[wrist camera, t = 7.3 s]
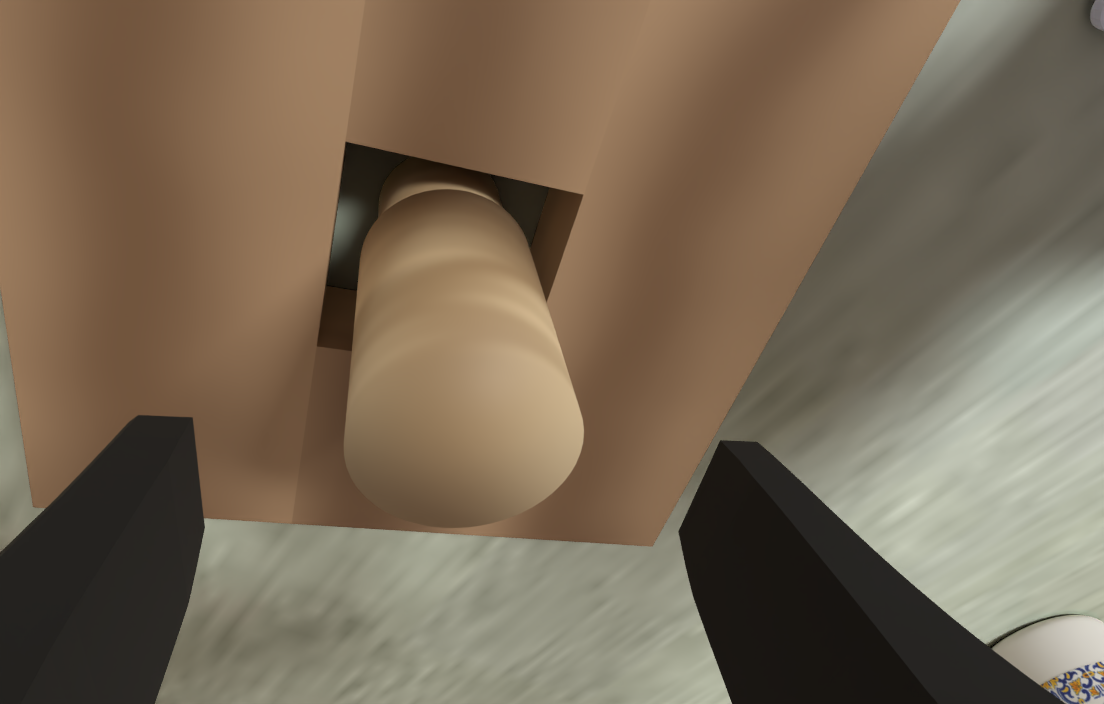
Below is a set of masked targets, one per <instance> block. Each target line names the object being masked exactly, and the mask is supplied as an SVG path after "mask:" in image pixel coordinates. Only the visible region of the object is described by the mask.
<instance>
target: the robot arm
mask: <svg viewBox="0 0 1104 704" xmlns="http://www.w3.org/2000/svg"><path fill="white" fill-rule="evenodd" d="M1090 20H1091V24H1092V25H1093V26H1094V27H1096V28H1097V29H1100V30H1102V31H1104V0H1095V2H1094V4H1093V6H1092V8H1091V14H1090ZM204 529H205V525H204V516H203V507H202V498H201V489H200V479H199V470H198V461H197V452H196V443H195V433H194V424H193V417H174V416H151V415H138V416H136V417H135V418H133V419H132V420H131V421H129V422H128V423H127V424H126V425H125V427H124V428H123V429H122V430H121V431H120V432H119V433H118V434H117V435H116V436H115V437H114V438H113V439H112V441H111V442H110V443H109V444H108V445H107V446H106V447H105V448H104V449H103V450H102V451H101V452H100V453H99V454H98V455H97V457H96V458H95V459H94V460H93V461H92V462H91V463H90V464H89V465H88V466H87V467H86V468H85V469H84V470H83V471H82V472H81V473H80V474H79V475H78V476H77V477H76V478H75V479H74V480H73V481H72V483H71V484H70V485H69V486H68V487H67V488H66V489H65V490H64V491H63V492H62V493H61V494H60V495H59V496H58V497H57V498H56V499H55V500H54V501H53V502H52V503H51V504H50V505H49V506H48V507H47V508H46V509H45V510H44V511H43V512H42V513H41V514H40V515H39V516H37V517H36V518H35V519H34V520H33V521H32V522H31V523H30V524H29V525H28V526H27V527H26V528H25V529H24V530H23V531H22V532H21V533H20V534H19V535H18V536H17V537H16V538H15V539H14V540H13V541H12V542H11V543H10V544H9V545H8V546H7V547H5V548H4V549H3V550H2V551H1V552H0V704H155V701H156V698H157V695H158V692H159V689H160V686H161V683H162V681H163V678H164V675H165V672H166V669H167V666H168V663H169V660H170V657H171V654H172V651H173V648H174V645H175V642H176V639H177V636H178V633H179V631H180V628H181V625H182V622H183V619H184V616H185V612H186V609H187V606H188V603H189V599H190V594H191V590H192V585H193V581H194V576H195V572H196V567H197V562H198V558H199V553H200V548H201V543H202V538H203V533H204ZM679 536H680V541H681V546H682V551H683V555H684V560H685V565H686V569H687V573H688V578H689V582H690V586H691V590H692V594H693V597H694V600H695V603H696V606H697V609H698V612H699V615H700V617H701V620H702V623H703V626H704V628H705V631H706V634H707V637H708V639H709V642H710V645H711V648H712V650H713V653H714V656H715V659H716V661H717V664H718V667H719V669H720V672H721V675H722V677H723V680H724V683H725V685H726V688H727V691H728V694H729V696H730V699H731V702H732V704H1066V703H1064V702H1063V701H1061V700H1060V699H1059V698H1057V697H1056V696H1054V695H1053V694H1052V693H1050V692H1049V691H1047V690H1046V689H1044V688H1043V687H1042V686H1040V685H1039V684H1037V683H1036V682H1035V681H1033V680H1032V679H1031V678H1029V677H1028V676H1027V675H1025V674H1024V673H1023V672H1021V671H1020V670H1019V669H1017V668H1016V667H1015V666H1013V665H1012V664H1011V663H1009V662H1008V661H1007V660H1005V659H1004V658H1003V657H1001V656H1000V655H999V654H997V653H996V652H995V651H993V650H992V649H991V648H990V647H988V646H987V645H986V644H984V643H983V642H982V641H980V640H979V639H978V638H976V637H975V636H974V635H973V634H971V633H970V632H969V631H968V630H966V629H965V628H964V627H963V626H961V625H960V624H959V623H958V622H956V621H955V620H954V619H953V618H952V617H950V616H949V615H948V614H947V613H946V612H944V611H943V610H942V609H941V608H940V607H939V606H937V605H936V604H935V603H934V602H933V601H931V600H930V599H929V598H928V597H927V596H926V595H924V594H923V593H922V592H921V591H920V590H918V589H917V588H916V587H915V586H914V585H913V584H911V583H910V582H909V581H908V580H907V579H906V578H905V577H903V576H902V575H901V574H900V573H899V572H898V571H897V570H896V569H894V568H893V567H892V566H891V565H890V564H889V563H888V562H887V561H885V560H884V559H883V558H882V557H881V556H880V555H879V554H878V553H877V552H876V551H874V550H873V549H872V548H871V547H870V546H869V545H868V544H867V543H866V542H865V541H864V540H862V539H861V538H860V537H859V536H858V535H857V534H856V533H855V532H854V531H853V530H852V529H851V528H850V527H849V526H847V525H846V524H845V523H844V522H843V521H842V520H841V519H840V518H839V517H838V516H837V515H836V514H835V513H834V512H833V511H832V510H830V509H829V508H828V507H827V506H826V505H825V504H824V503H823V502H822V501H821V500H820V499H819V498H818V497H817V496H816V495H815V494H814V493H813V492H811V491H810V490H809V489H808V488H807V487H806V486H805V485H804V484H803V483H802V482H801V481H800V480H799V479H798V478H797V477H796V476H795V475H793V474H792V473H791V472H790V471H789V470H788V469H787V468H786V467H785V466H784V465H783V464H782V463H781V462H779V461H778V460H777V459H776V458H775V457H774V456H773V455H772V454H771V453H769V452H768V451H767V450H766V449H765V448H764V447H762V446H761V445H760V444H759V443H758V442H745V441H722V440H720V442H719V445H718V447H717V449H716V451H715V453H714V455H713V458H712V460H711V462H710V464H709V466H708V469H707V471H706V473H705V475H704V477H703V479H702V482H701V484H700V486H699V488H698V490H697V492H696V495H695V497H694V499H693V501H692V503H691V505H690V508H689V510H688V512H687V514H686V516H685V518H684V521H683V523H682V525H681V527H680V529H679Z"/></svg>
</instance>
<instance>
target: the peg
mask: <svg viewBox="0 0 1104 704" xmlns="http://www.w3.org/2000/svg"><path fill="white" fill-rule="evenodd" d="M583 438H584V426H583V418H582V415H581V412H580V408H579V405H578V402H577V399H576V395H575V392H574V389H573V386H572V383H571V379H570V376H569V373H568V370H567V367H566V363H565V360H564V357H563V354H562V351H561V347H560V344H559V341H558V338H557V335H556V331H555V328H554V325H553V322H552V319H551V316H550V312H549V309H548V306H547V303H546V300H545V296H544V293H543V290H542V287H541V284H540V280H539V277H538V274H537V271H536V268H535V264H534V261H533V258H532V255H531V252H530V248H529V245H528V242H527V239H526V237H525V235H524V233H523V230H522V229H521V227H520V226H519V224H518V223H517V221H516V220H515V219H514V218H513V217H512V216H511V215H510V214H509V213H508V212H507V211H506V210H505V209H504V208H503V207H502V203H501V200H500V196H499V193H498V189H497V187H496V185H495V183H494V181H493V179H492V178H491V176H490V175H489V174H488V173H484V172H480V171H475V170H471V169H466V168H462V167H457V166H453V165H448V164H444V163H440V162H435V161H431V160H426V159H422V158H417V157H413V156H412V157H410V158H408V159H406V160H405V161H403V162H402V163H400V164H399V165H398V166H397V167H396V168H395V169H394V170H393V171H392V172H391V173H390V174H389V176H388V177H387V179H386V181H385V183H384V185H383V187H382V190H381V193H380V198H379V210H378V219H377V220H376V221H375V223H374V224H373V226H372V227H371V228H370V230H369V232H368V234H367V236H366V238H365V240H364V243H363V246H362V250H361V256H360V265H359V277H358V288H357V299H356V310H355V322H354V333H353V344H352V355H351V367H350V378H349V389H348V401H347V412H346V423H345V434H344V458H345V463H346V467H347V470H348V472H349V474H350V477H351V479H352V480H353V482H354V483H355V485H356V487H357V488H358V489H359V490H360V491H361V493H362V494H363V495H364V496H365V497H366V498H367V499H368V500H370V501H371V502H372V503H373V504H374V505H376V506H377V507H379V508H380V509H382V510H383V511H385V512H387V513H389V514H391V515H393V516H395V517H397V518H400V519H403V520H406V521H408V522H412V523H416V524H420V525H425V526H432V527H441V528H466V527H474V526H481V525H486V524H491V523H495V522H498V521H502V520H505V519H508V518H511V517H513V516H516V515H518V514H520V513H522V512H524V511H526V510H528V509H530V508H532V507H534V506H535V505H537V504H538V503H540V502H542V501H543V500H544V499H546V498H547V497H548V496H549V495H551V494H552V493H553V492H554V491H555V490H556V489H557V488H558V487H559V486H560V485H561V484H562V483H563V482H564V481H565V480H566V478H567V477H568V476H569V475H570V473H571V471H572V470H573V468H574V466H575V465H576V463H577V460H578V458H579V456H580V453H581V449H582V445H583Z"/></svg>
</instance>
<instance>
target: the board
mask: <svg viewBox="0 0 1104 704" xmlns="http://www.w3.org/2000/svg"><path fill="white" fill-rule="evenodd" d="M959 2H960V0H0V289H1V296H2V302H3V309H4V316H5V322H6V329H7V336H8V342H9V349H10V356H11V362H12V369H13V376H14V382H15V389H16V396H17V402H18V409H19V416H20V423H21V429H22V436H23V443H24V449H25V456H26V463H27V469H28V476H29V483H30V489H31V496H32V503H33V507H37V508H47V507H48V506H49V505H50V504H51V503H52V502H53V501H54V500H55V499H56V498H57V497H58V496H59V495H60V494H61V493H62V492H63V491H64V490H65V489H66V488H67V487H68V486H69V485H70V484H71V483H72V481H73V480H74V479H75V478H76V477H77V476H78V475H79V474H80V473H81V472H82V471H83V470H84V469H85V468H86V467H87V466H88V465H89V464H90V463H91V462H92V461H93V460H94V459H95V458H96V457H97V455H98V454H99V453H100V452H101V451H102V450H103V449H104V448H105V447H106V446H107V445H108V444H109V443H110V442H111V441H112V439H113V438H114V437H115V436H116V435H117V434H118V433H119V432H120V431H121V430H122V429H123V428H124V427H125V425H126V424H127V423H128V422H129V421H131V420H132V419H133V418H135V417H136V416H138V415H151V416H174V417H193V424H194V433H195V443H196V452H197V461H198V470H199V479H200V489H201V498H202V507H203V516H204V518H211V519H227V520H243V521H258V522H274V523H290V524H306V525H322V526H337V527H353V528H369V529H385V530H401V531H416V532H432V533H448V534H464V535H480V536H495V537H511V538H527V539H543V540H558V541H574V542H590V543H606V544H622V545H637V546H653V544H654V543H655V541H656V539H657V537H658V535H659V534H660V532H661V530H662V528H663V527H664V525H665V523H666V521H667V519H668V518H669V516H670V514H671V512H672V511H673V509H674V507H675V505H676V504H677V502H678V500H679V498H680V496H681V495H682V493H683V491H684V489H685V488H686V486H687V484H688V482H689V480H690V479H691V477H692V475H693V473H694V472H695V470H696V468H697V466H698V465H699V463H700V461H701V459H702V457H703V456H704V454H705V452H706V450H707V449H708V447H709V445H710V443H711V441H712V440H713V438H714V436H715V434H716V433H717V431H718V429H719V427H720V426H721V424H722V422H723V420H724V418H725V417H726V415H727V413H728V411H729V410H730V408H731V406H732V404H733V403H734V401H735V399H736V397H737V395H738V394H739V392H740V390H741V388H742V387H743V385H744V383H745V381H746V379H747V378H748V376H749V374H750V372H751V371H752V369H753V367H754V365H755V364H756V362H757V360H758V358H759V356H760V355H761V353H762V351H763V349H764V348H765V346H766V344H767V342H768V340H769V339H770V337H771V335H772V333H773V332H774V330H775V328H776V326H777V325H778V323H779V321H780V319H781V317H782V316H783V314H784V312H785V310H786V309H787V307H788V305H789V303H790V302H791V300H792V298H793V296H794V294H795V293H796V291H797V289H798V287H799V286H800V284H801V282H802V280H803V278H804V277H805V275H806V273H807V271H808V270H809V268H810V266H811V264H812V263H813V261H814V259H815V257H816V255H817V254H818V252H819V250H820V248H821V247H822V245H823V243H824V241H825V239H826V238H827V236H828V234H829V232H830V231H831V229H832V227H833V225H834V224H835V222H836V220H837V218H838V216H839V215H840V213H841V211H842V209H843V208H844V206H845V204H846V202H847V200H848V199H849V197H850V195H851V193H852V192H853V190H854V188H855V186H856V185H857V183H858V181H859V179H860V177H861V176H862V174H863V172H864V170H865V169H866V167H867V165H868V163H869V162H870V160H871V158H872V156H873V154H874V153H875V151H876V149H877V147H878V146H879V144H880V142H881V140H882V138H883V137H884V135H885V133H886V131H887V130H888V128H889V126H890V124H891V123H892V121H893V119H894V117H895V115H896V114H897V112H898V110H899V108H900V107H901V105H902V103H903V101H904V99H905V98H906V96H907V94H908V92H909V91H910V89H911V87H912V85H913V84H914V82H915V80H916V78H917V76H918V75H919V73H920V71H921V69H922V68H923V66H924V64H925V62H926V61H927V59H928V57H929V55H930V53H931V52H932V50H933V48H934V46H935V45H936V43H937V41H938V39H939V37H940V36H941V34H942V32H943V30H944V29H945V27H946V25H947V23H948V22H949V20H950V18H951V16H952V14H953V13H954V11H955V9H956V7H957V6H958V4H959ZM347 142H350V143H355V144H359V145H363V146H368V147H372V148H377V149H381V150H386V151H390V152H395V153H399V154H404V155H408V156H413V157H417V158H422V159H426V160H431V161H435V162H440V163H444V164H448V165H453V166H457V167H462V168H466V169H471V170H475V171H480V172H484V173H489V174H493V175H498V176H502V177H507V178H511V179H516V180H520V181H525V182H529V183H533V184H538V185H542V186H547V187H549V191H548V194H547V197H546V200H545V203H544V207H543V210H542V213H541V216H540V219H539V223H538V226H537V229H536V232H535V235H534V238H533V242H532V245H531V248H530V252H531V255H532V258H533V261H534V264H535V268H536V271H537V274H538V277H539V280H540V284H541V287H542V290H543V293H544V296H545V300H546V303H547V306H548V309H549V312H550V316H551V319H552V322H553V325H554V328H555V331H556V335H557V338H558V341H559V344H560V347H561V351H562V354H563V357H564V360H565V363H566V367H567V370H568V373H569V376H570V379H571V383H572V386H573V389H574V392H575V395H576V399H577V402H578V405H579V408H580V412H581V415H582V418H583V426H584V438H583V445H582V449H581V453H580V456H579V458H578V460H577V463H576V465H575V466H574V468H573V470H572V471H571V473H570V475H569V476H568V477H567V478H566V480H565V481H564V482H563V483H562V484H561V485H560V486H559V487H558V488H557V489H556V490H555V491H554V492H553V493H552V494H551V495H549V496H548V497H547V498H546V499H544V500H543V501H542V502H540V503H538V504H537V505H535V506H534V507H532V508H530V509H528V510H526V511H524V512H522V513H520V514H518V515H516V516H513V517H511V518H508V519H505V520H502V521H498V522H495V523H491V524H486V525H481V526H474V527H466V528H441V527H432V526H425V525H420V524H416V523H412V522H408V521H406V520H403V519H400V518H397V517H395V516H393V515H391V514H389V513H387V512H385V511H383V510H382V509H380V508H379V507H377V506H376V505H374V504H373V503H372V502H371V501H370V500H368V499H367V498H366V497H365V496H364V495H363V494H362V493H361V491H360V490H359V489H358V488H357V487H356V485H355V483H354V482H353V480H352V479H351V477H350V474H349V472H348V470H347V467H346V463H345V458H344V434H345V423H346V412H347V401H348V389H349V378H350V367H351V355H352V344H353V333H354V322H355V310H356V299H357V291H355V290H348V289H342V288H336V287H330V286H327V279H328V272H329V265H330V258H331V251H332V244H333V237H334V230H335V223H336V216H337V209H338V202H339V195H340V188H341V180H342V173H343V166H344V159H345V152H346V145H347Z"/></svg>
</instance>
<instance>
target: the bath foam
mask: <svg viewBox="0 0 1104 704" xmlns="http://www.w3.org/2000/svg"><path fill="white" fill-rule="evenodd" d="M991 649H992V650H993V651H995V652H996V653H997V654H999V655H1000V656H1001V657H1003V658H1004V659H1005V660H1007V661H1008V662H1009V663H1011V664H1012V665H1013V666H1015V667H1016V668H1017V669H1019V670H1020V671H1021V672H1023V673H1024V674H1025V675H1027V676H1028V677H1029V678H1031V679H1032V680H1033V681H1035V682H1036V683H1037V684H1039V685H1040V686H1042V687H1043V688H1044V689H1046V690H1047V691H1049V692H1050V693H1052V694H1053V695H1054V696H1056V697H1057V698H1059V699H1060V700H1061V701H1063V702H1064V703H1066V704H1104V622H1102V621H1100V620H1099V619H1096V618H1094V617H1090V616H1085V615H1066V616H1060V617H1055V618H1051V619H1047V620H1044V621H1041V622H1038V623H1035V624H1032V625H1030V626H1028V627H1025V628H1023V629H1021V630H1019V631H1017V632H1015V633H1013V634H1011V635H1010V636H1008V637H1006V638H1005V639H1003V640H1002V641H1000V642H999V643H998V644H996V645H995V646H994V647H992V648H991Z"/></svg>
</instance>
